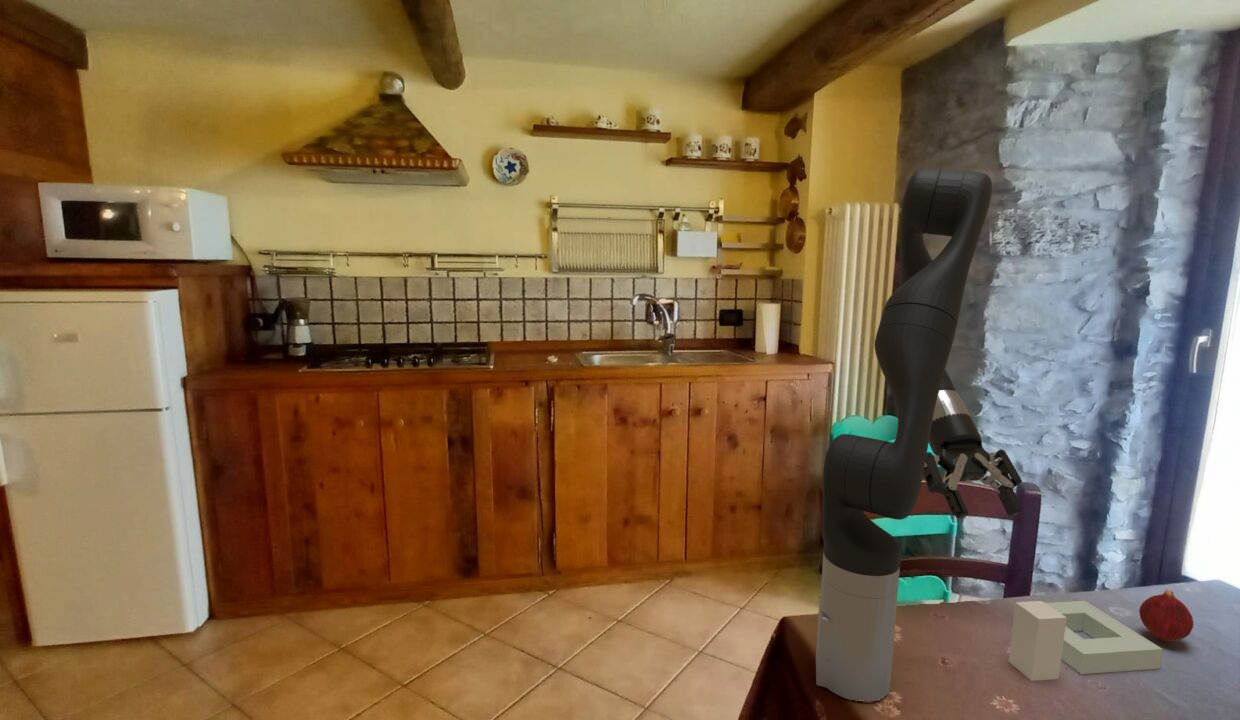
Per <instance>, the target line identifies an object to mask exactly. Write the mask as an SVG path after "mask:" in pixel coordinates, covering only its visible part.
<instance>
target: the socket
mask: <svg viewBox="0 0 1240 720" xmlns="http://www.w3.org/2000/svg"><path fill="white" fill-rule="evenodd" d="M1045 603H1046V604H1047V605H1049V606H1050V607H1052V608H1053V609H1055V610H1056V611H1058V612H1059V613H1061V614H1062V615H1064V616H1065V617H1067V619H1066V627H1065V634H1064V642H1063V650H1062V657H1061V661H1063V662H1064V663H1066V664H1067V665H1069V667H1071V668H1072V669H1074V670H1075V671H1076V672H1077V673H1079V674H1080V675H1088V674H1089V675H1091V674H1102V673H1103V674H1104V673H1119V672H1132V671H1133V672H1135V671H1147V670H1148V671H1149V670H1160V668H1161V662H1162V656H1163V650H1164V649H1163V648H1162V647H1160V646H1159V645H1157V644H1155V643H1154V642H1152V641H1150V640H1149V639H1147V638H1146V637H1144V636H1143V635H1141V634H1139V633H1138V632H1136V631H1134V630H1133V629H1131V628H1129V627H1127V626H1126V625H1124V624H1123V623H1121V622H1119V621H1118V620H1116V619H1115V618H1114V617H1112V616H1110V615H1108V614H1107V613H1105V612H1103V611H1102V610H1100V609H1098V608H1097V607H1096V606H1094V605H1092V604H1090V603H1089V602H1087V601H1086V600H1076V601H1057V602H1056V601H1055V602H1045ZM1014 611H1015V608H1014ZM1014 611H1013V612H1014ZM1013 619H1014V617H1013ZM1076 632H1083V633H1084V634H1086V635H1087V636H1089V637H1091V638H1083V637H1081V636H1080V635H1079V634H1077V633H1076Z"/></svg>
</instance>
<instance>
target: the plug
mask: <svg viewBox="0 0 1240 720" xmlns="http://www.w3.org/2000/svg"><path fill="white" fill-rule="evenodd" d="M1046 603H1047V602H1045V601H1043V600H1036V601H1035V600H1031V601H1019V602H1017V601H1016V602H1015V604H1014V609H1015V611H1013V618H1014V619H1013V620H1012V629H1011V639H1010V645H1009V646H1010V647H1009V656H1008V663H1010V665H1012V666H1013V667H1014V668H1016V669H1017V670H1018V671H1019V672H1020V673H1021V674H1023V675H1024V676H1025V677H1026V678H1027V679H1028V680H1030V681H1031V682H1038V681H1052V680H1054V681H1055V680H1059V679H1060V671H1061V665H1062V664H1061V663H1062V659H1061V657H1062V650H1063V642H1064V634H1065V627H1066V619H1067V617H1065V616H1064V615H1062V614H1061V613H1059V612H1058V611H1056V610H1055V609H1053V608H1052V607H1050V606H1049V605H1047V604H1046Z"/></svg>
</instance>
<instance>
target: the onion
mask: <svg viewBox="0 0 1240 720" xmlns="http://www.w3.org/2000/svg"><path fill="white" fill-rule="evenodd" d="M1138 612H1139V617H1140V620H1141V622H1142V624H1143V626H1144V627H1145V628H1146V629H1147V630H1148V631H1149V632H1150V633H1151V634H1152V635H1153V636H1154V637H1156V639H1158V640H1159V641H1161V642H1173V641H1179V640H1182V639H1185V638H1187V637H1188V636H1190V634H1191V632H1192V630H1193V628H1194V619H1193V616H1192V614H1191V612H1190V610H1189V609H1188V608H1187V606H1186V605H1185V604H1184V603H1183V602H1182V601H1181V600H1179V599H1178V598H1176V596H1175V594H1174V592H1173V591H1172V589H1169V588H1167V589H1165V590H1164V592H1163V593H1162V594H1157V595H1153V596H1150V597H1148V598H1147V599H1145V600H1144V601H1143V602H1142V603H1141V605H1140V606H1139V610H1138Z"/></svg>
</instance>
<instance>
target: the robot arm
mask: <svg viewBox="0 0 1240 720" xmlns="http://www.w3.org/2000/svg"><path fill="white" fill-rule="evenodd" d="M903 193H904V194H903V198H902V203H901V210H900V218H899V221H900V223H899V270H900V272H899V273H900V274H899V275H900V277H899V279H900V280H899V287H898V288H897V289H895V291H894V292H892V294H891V295H890V296H889V298H888V299H887V300H886V302H885V305H884V307H883V311H882V315H881V317H880V322H879V325H878V327H877V331H876V335H875V339H874V351H875V355H876V359H877V362H878V365H879V367H880V370H881V372H882V374H883V376H884V379H885V380H886V382H887V385H888V387H889V390H890V392H891V395H892V398H893V402H894V404H895V409H896V413H897V431H896V435H895V439H894V441H892V442H891V441H888V440H887V441H886V440H882V439H877V438H871V437H867V436H866V437H865V436H863V435H862V436H861V435H857V434H850V433H842V434H839V435H837V436H836V437H834V438H833V440H831V442H830V444H829V445H828V447H827V450H826V453H825V457H824V462H823V471H822V522H821V523H822V526H821V530H822V531H821V532H822V539H823V554H822V569H821V570H822V571H821V584H820V586H821V587H820V596H819V602H818V617H817V618H818V619H817V630H816V634H817V635H816V649H815V679H816V680H815V682H816V683H815V684H816V685H817V686H818V687H822V688H826V689H827V690H829V691H831V692H832V693H833V694H835V695H837V696H839V697H841V698H843V699H847V700H850V701H852V700H864V701H874V700H878V699H881V698H883V697H885V696H886V695H887V694H889V693H890V689H891V681H892V667H893V666H892V665H893V654H894V642H895V639H894V638H895V629H896V619H897V618H896V615H897V604H898V593H899V583H900V582H899V580H900V568H901V559H902V552H901V546H900V544H899V542H898V541H897V539H896V538H895V537H894V536H893V535H892V534H891V533H889V532H888V531H887V530H885V529H883V528H882V527H880V526H879V525H878V524H876V523H875V522H874V521H872V519H870V517H869V516H868V515H867V514H866V513H870V514H873V515H876V516H881V517H884V518H888V519H892V520H904V519H907V518H908V517H909V516H910V515H911V513H913V510H914V508H915V506H916V503H918V502H917V501H918V499H919V495H920V492H921V488H922V483H923V477H924V480H925V483H926V487H927V489H928V491H929V492H930V493H932V494H935V493H938V494H941V495H942V496H943V497H944V499H945V500H946V501H945V502H946V504H947V505H948V508H949V510H950V512H951V514H952V515H953V516H955V518H956V519H964V518H966V517H967V516H968V515H969V512H968V509H967V506H966V504H965V501H964V500H963V497H962V495H961V492H960V490H957V487H958V485H959V483H960V482H966V481H971V482H972V481H973V482H976V481H977V482H978V481H980V482H981V483H983V485H986V486H989V487H990V488H992V489H993V490H994V491H996V492H997V496H998V498H999V500H1000V502H1001V504H1002V506H1003V509H1004V510H1005V512H1006V515H1008V517H1014V516H1017V515H1018V514H1020V513H1021V509H1022V506H1021V503H1020V502H1019V499H1018V497H1017V495H1016V493H1015V491H1014V488H1016V487H1017V486H1019V485H1021V483H1023V479H1022V478H1021V476H1020V474H1019V473H1018V470H1017V469H1016V468H1015V466H1014V463H1013V462H1012V461H1011V459H1010V457H1009V456H1008V454H1007V452H1006V451H1005V450H1004V449H998V450H997V451H995V452H988V451H987V450H985V448H984V447H983V444H982V442H983V440H982V437H981V434H980V433H979V431H978V429H977V426H976V424H975V422H974V420H973V418H972V416H971V414H970V412H969V410H968V408H967V406H966V404H965V402H964V401H963V399H962V397H960V395H959V394H958V392H957V389H956V388H955V386H954V383H953V382H952V381H953V380H952V379H951V377H950V375H949V374H948V373H949V372H947V370H946V367H947V364H948V361H949V360H948V359H949V357H950V353H951V350H952V347H953V343H954V339H955V334H956V332H957V331H956V330H957V327H958V321H959V316H960V312H961V307H962V303H963V297H964V292H965V287H966V284H967V279H968V275H969V271H970V268H971V265H972V262H973V259H974V254H975V252H976V249H977V246H978V242H979V240H980V237H981V233H982V230H983V227H984V224H985V221H986V218H987V216H988V211H989V208H990V205H991V199H992V194H993V183H992V179H991V177H990V176H989V175H988V174H987V173H984V172H979V171H975V170H974V171H973V170H972V171H971V170H959V169H958V170H957V169H946V168H945V169H943V168H942V169H941V168H922V169H918V170H916V171H914V173H913V174H912V175H911V177H910V178H909V180H908V182H907V184H906V186H905V189H904V192H903ZM924 234H925V235H926V234H927V235H934V236H943V237H945V236H946V237H951V238H950V239H949V241H948V242H947V244H946V245H945V246H944V248H943V249H942V250H941V251H940V252H939V253H938V255H937V256H935V258H932V257H931V255H930V253H929V251H928V249H927V246H926V244H925V241H924V236H923V235H924ZM929 447H930V449H931V451H932V452H929V451H928V449H929ZM939 466H940V468H942V469H943V470H944V471H945V472H944V475H943V478H942V475H941V472H940V470H939ZM988 473H990V474H989V475H987V474H988ZM888 692H889V693H888ZM887 696H888V695H887ZM887 696H886V697H887ZM886 697H885V698H886ZM883 699H884V698H883ZM881 700H882V699H881Z"/></svg>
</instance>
